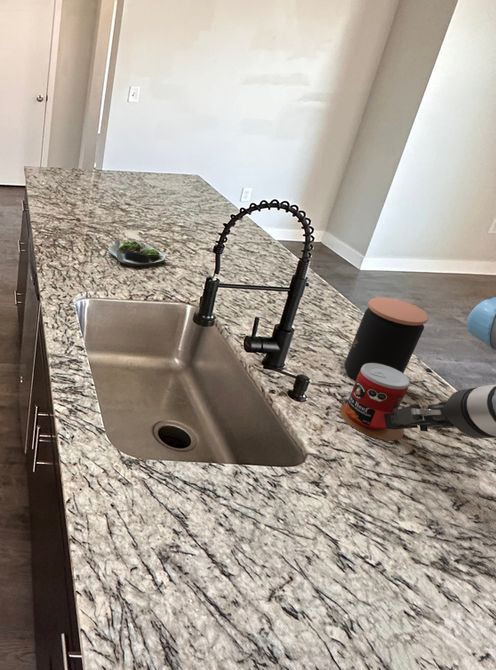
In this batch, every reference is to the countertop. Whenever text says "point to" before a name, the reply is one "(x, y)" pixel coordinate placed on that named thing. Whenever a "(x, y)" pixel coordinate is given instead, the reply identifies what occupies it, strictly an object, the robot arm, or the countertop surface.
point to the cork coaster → (379, 434)
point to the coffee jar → (386, 335)
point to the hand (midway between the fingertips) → (389, 421)
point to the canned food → (376, 395)
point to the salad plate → (136, 254)
